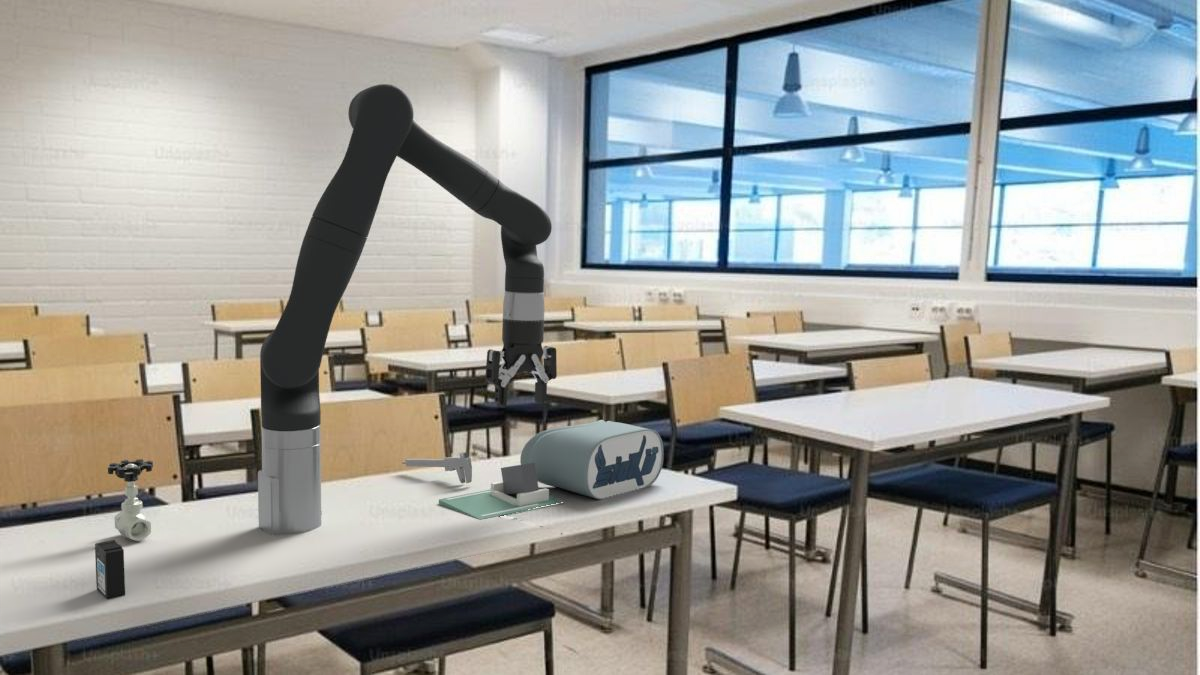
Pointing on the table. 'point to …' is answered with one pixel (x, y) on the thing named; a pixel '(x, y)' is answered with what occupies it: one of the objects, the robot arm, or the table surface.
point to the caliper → (447, 465)
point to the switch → (519, 478)
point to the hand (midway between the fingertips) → (520, 404)
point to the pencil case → (596, 458)
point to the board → (497, 502)
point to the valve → (131, 500)
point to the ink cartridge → (110, 569)
